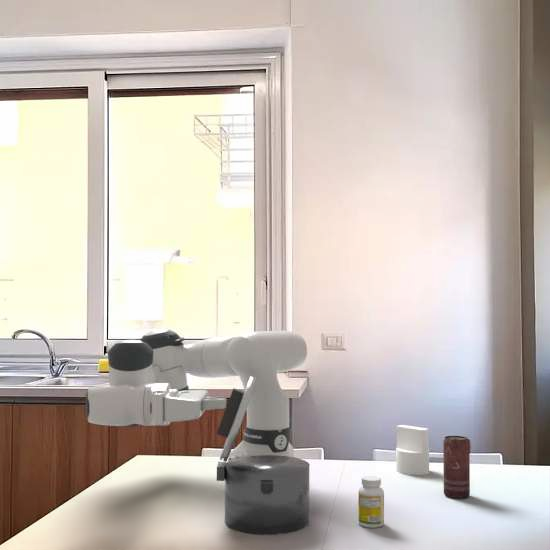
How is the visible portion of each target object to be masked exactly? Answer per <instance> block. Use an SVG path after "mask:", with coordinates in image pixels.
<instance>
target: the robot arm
mask: <svg viewBox="0 0 550 550" xmlns="http://www.w3.org/2000/svg"><path fill="white" fill-rule="evenodd" d="M185 340H186V338H184V337H183V336H182V337H181V336H180V335H179V334H178V333H177V332H176V331H173V330H171V329H167V328H166V329H165V328H156V329H153V330H151V331H148V332H146V333H145V334H144V335H143V336H142V337H141V338H140V340H138V339H125V340H121V341H119V342H117V343H114V344H113V345H112V346H111V347H110V348H109V349H108V351H107V359H108V360H107V361H108V363H107V364H108V373H109V374H108V376H109V377H108V379H109V382H108V383H109V384H104V385H96V386H91V387H89V388H88V389H87V390H86V392H85V400H84V401H85V417H86V420H87V422H88V423H90V424H93V425H94V424H95V425H101V426H111V427H113V426H115V427H120V428H122V427H123V428H126V427H127V428H130V427H132V428H134V427H138V426H139V427H140V426H141V425H142V426H170V424H171V423H172V422H173V423H176V422H184V421H193V420H197V419H198V420H199V419H200V418H201V416H202V415H203V413H204V412H205V411H212V410H217V409H219V410H220V409H221V410H222V409H226V407H227V404H228V400H227V398H226V397H221V398H220V397H214V396H213V397H212V396H209V395H210V394H209V390H206V389H193V390H191V389H190V388H189V385H188V380H187V379H188V378H187V374H189V375H191V376H194V377H198V378H205V379H206V378H208V379H209V378H212V379H214V378H227V377H228V378H230V377H239V379H240V381H241V383H242V386H243V388H244V389H243V390H244V391H245V389H246V386H247V383H248V381H249V378H250V376H252V377H254V378H257V380H256V384H255V387H254V389H253V392H252V395H251V398H250V401H249V404H248V406H247V409H246V426H245V427H244V426H243V427H241V429H243V430H242V431H241V432H242V433H243V436H242V441H241V442H240V443H239V444H238V445H237V446H236V447H235V448H233V450H231V452H230V454H229V457H228V459H227V462H228V461H230V460H232V459H236V458H240V457H247V456H258V455H276V456H288V457H294V458H295V451H294V447H293V445H292V444H291V443H290V442H291V440H292V427H291V426H290V398H289V397H290V396H289V395H288V393H287V392H286V391H285V390H283V389H282V387H281V385H280V383H279V380H278V373H286V372H289V371H291V370H294V369H296V368H299V367H300V366H302V365H304V364H303V363H305V361H306V359H307V356H308V347H307V342H306V340H305V339H304V338H303V336H302V335H300V334H298V333H296V332H292V331H289V330H288V331H287V330H284V329H283V330H263V331H261V330H259V331H248V332H244V333H241V334H232V335H226V336H218V337H217V336H216V337H211V338H206V339H201V340H198V341H194V342H192V343H189V344H185V343H183V342H184V341H185Z"/></svg>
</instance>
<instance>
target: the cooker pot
mask: <svg viewBox="0 0 550 550" xmlns="http://www.w3.org/2000/svg"><path fill="white" fill-rule="evenodd" d="M216 465H217V466H216V482H224V487H225V488H224V523H225V525H226V526H227V527H228V528H230V529H232V530H234V531H237V532H240V533H244V534H245V533H246V534H250V533H251V534H252V535H264V534H270V535H280V534H279V533H284V534H288V532H290V533H293V531H294V532H297V530H298V531H299V530H303V529H305V528H306V527H308V526H309V524H310V463H309V462H308V461H306V460H304V459H302V458H298V457H295V456H294V457H288V456H276V455H258V456H247V457H240V458H236V459H232V460H230V461H228V460H227V461H218V463H217V464H216ZM304 527H305V528H304ZM302 528H303V529H302Z"/></svg>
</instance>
